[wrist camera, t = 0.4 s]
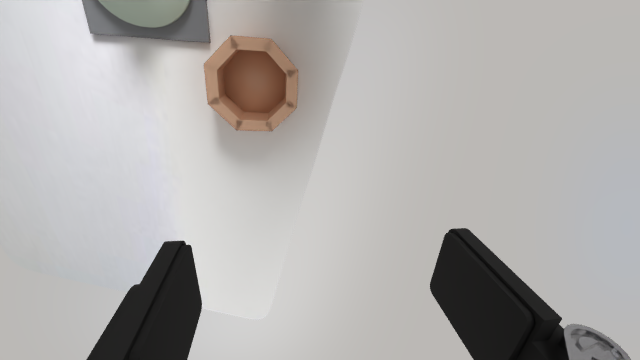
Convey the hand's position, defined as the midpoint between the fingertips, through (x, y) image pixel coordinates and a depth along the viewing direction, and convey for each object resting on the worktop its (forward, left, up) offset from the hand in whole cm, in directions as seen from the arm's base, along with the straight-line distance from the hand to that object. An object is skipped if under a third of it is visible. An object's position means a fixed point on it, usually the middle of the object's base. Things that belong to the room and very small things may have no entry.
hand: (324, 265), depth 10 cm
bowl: (-3, -4, -29) cm, 29 cm away
